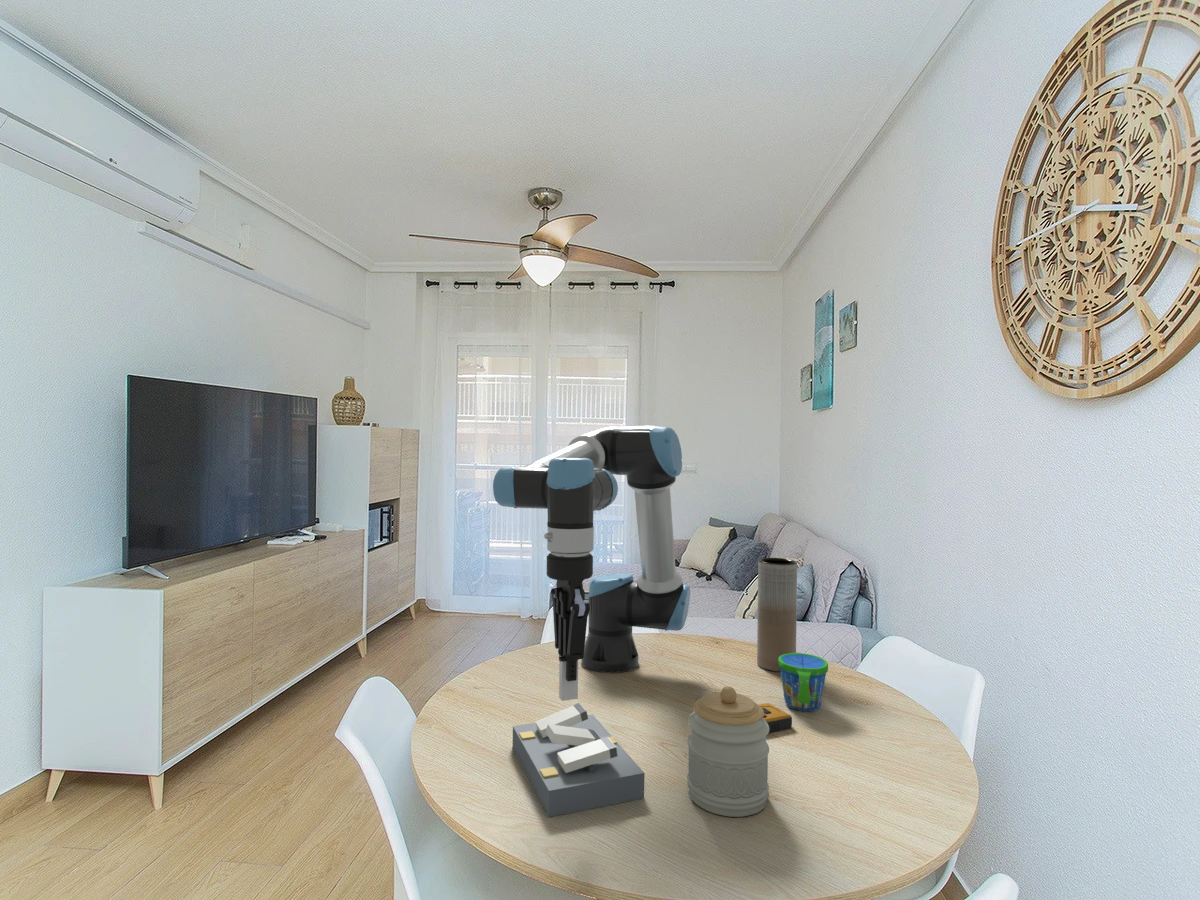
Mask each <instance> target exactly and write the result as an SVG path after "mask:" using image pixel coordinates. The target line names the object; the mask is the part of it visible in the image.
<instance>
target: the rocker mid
mask: <svg viewBox="0 0 1200 900" xmlns="http://www.w3.org/2000/svg"><path fill="white" fill-rule="evenodd" d="M546 734H547V736H548V737H549V739H550V740H551V742H552V743H559V744H568V745H576V746H580V745H583V744H586V743H589V742H592V741H596V740H599V739H601V738H600V737H599V735H598V734H597V733H596V732H595V731H594V730H591V729H582V728H574V727H567V726H559V725H551V724H548V725H547V729H546Z"/></svg>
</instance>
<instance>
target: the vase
mask: <svg viewBox="0 0 1200 900" xmlns="http://www.w3.org/2000/svg"><path fill="white" fill-rule="evenodd" d="M757 561H758V563H757V565H758V567H757V569H758V570H757V633H756V634H757V635H756V636H757V638H756V639H757V641H756V643H757V644H756V646H757V647H756V663H757V666H758V667H759V668H761V669H764V670H766V671H770V672H776V673H777V672H779V673H781V669H780V667H779V664H778V658H779V657H780V656H781V655H783V654H787V653H797V619H798V618H797V611H798V606H797V605H798V603H797V601H798V599H797V598H798V597H797V596H798V562H797V561H796V560H794V559H789V558H782V557H763V558H758V560H757Z"/></svg>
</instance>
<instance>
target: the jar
mask: <svg viewBox="0 0 1200 900" xmlns="http://www.w3.org/2000/svg"><path fill="white" fill-rule="evenodd" d="M736 691H737V690H736V689H734V688H733V687H731V686H724V687H722V688H721V690H720V691H714V692H711V693H707V694H706V695H704V696H703V697H701V698H698V699H697V700H696V701H695V702H694V703H693V706H692V709H693V712H692V713H690V715H689V716H688V719H687V724H688V727H689V728H690V734H689V736H688V738H687V745H688V764H687V765H688V771H687V772H688V773H687V776H686V780H687V781H686V783H687V784H686V785H687V789H688V795H689V797H690V799H691V801H693V802H694V804H695V805H697V806H698V807H700V808H701V809H703V810H705V811H707V812H708V813H712V814H715V815H718V816H724V817H731V818H733V817H735V818H742V817H747V816H749V817H750V816H753V815H755V814H758V813H759V812H760V811H762V810H764V808H765V807H766V805H767V803H768V797H769V794H770V793H769V789H770V787H769V781H768V777H769V775H768V773H769V771H768V770H769V768H768V767H769V753H770V746H769V744H768V743H767V735H769V734H770V733H769V725H768V723H767V722H766V721H765V720H764V719H763V716H764V711H763V709H762V708H761V707H760V706H759V704H758V703H756V702H755V701H754V700H753V699H752V698H750V697H749V696H746V695H744V694H741V693H737V692H736Z"/></svg>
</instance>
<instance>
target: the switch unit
mask: <svg viewBox="0 0 1200 900" xmlns="http://www.w3.org/2000/svg"><path fill="white" fill-rule="evenodd" d="M570 727H574V728H582V729H591V730H594V731H595V732H596V733H597V734H598V735H599V737H600V738H604V737H608V738H609V739H610V740H611V741H612V742H613V743H614V745H615V746H616V747H617V754H618V756H617V757H614V758H611V759H607V760H604V761H601V762H598V763H595V764H592V765H589V766H586V767H583V768H580V769H577V770H574V771H571V772H568V773H565V771H564V770H563V768H562V766H561V765H560V763H559V762H558V755H557V753H558V752H561V751H564V750H567V749H570V748H574V747H577V746H576V745H568V744H559V743H552V742H551V740H550V739H549V737H548V736H547V737H545V738H542V736H541V735H540V733H539V732H538V730H537V727H536V723H535V722H531V723H524V724H518V725H513V726H512V749H513V751H514V753H515V755H516V757H517V759H518V760H519V763H520V765H521V767H522V769H523V770H524V772H525V775H526V776H527V778H528V780H529V782H530V784H531V785H532V788H533V790H534V792H535V794H536V795H537V798H538V800H539V802H540V803H541V805H542V807H543V809H544V811H545V813H546V814H547V817H548V818H552V817H557V816H562V815H567V814H571V813H577V812H581V811H586V810H591V809H596V808H600V807H605V806H606V807H607V806H611V805H615V804H620V803H625V802H629V801H636V800H639V799H640V800H641V799H644V798H645V775H646V774H645V772H644V770H643V769H642V768H641V767H640V766H639V764H638V763H636V761H635V760H634V759H633V758H632V757H631V756H630V755H629V754H628V753H627V752H626V750H625V749H624V748H623V747H622V746H621V745H620V743H618V741H617V740H616V739H615V738H614V737H613V736H612V734H611V733H610V732H609V731H608V730H607V729H606V728H605V726H604V725H603V724H602V723H601V722H600V721H599V719H597V717H596V716H595V715H594V714H588V719H587V720H584V721H582V722H579V723H577V724H575V725H573V726H570Z"/></svg>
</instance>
